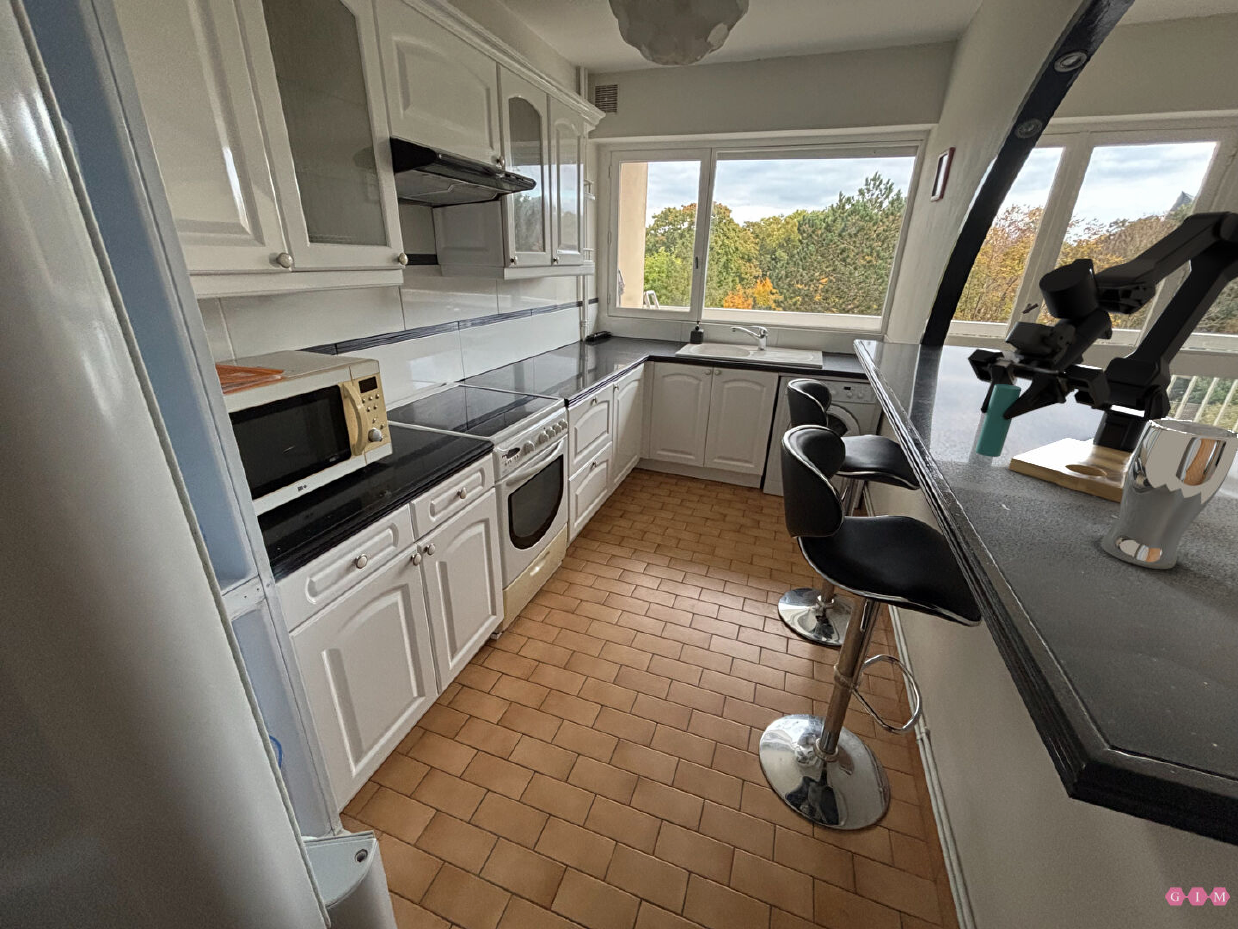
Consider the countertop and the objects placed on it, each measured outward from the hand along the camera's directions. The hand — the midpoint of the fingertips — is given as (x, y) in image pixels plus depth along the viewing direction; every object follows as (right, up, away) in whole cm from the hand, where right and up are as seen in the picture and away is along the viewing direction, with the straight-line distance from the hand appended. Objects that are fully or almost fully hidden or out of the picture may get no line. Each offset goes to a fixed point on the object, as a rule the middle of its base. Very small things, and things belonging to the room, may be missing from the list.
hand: (993, 414), depth 79 cm
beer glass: (0, -18, -22) cm, 28 cm away
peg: (+1, -6, +3) cm, 7 cm away
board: (+16, -9, +1) cm, 18 cm away
